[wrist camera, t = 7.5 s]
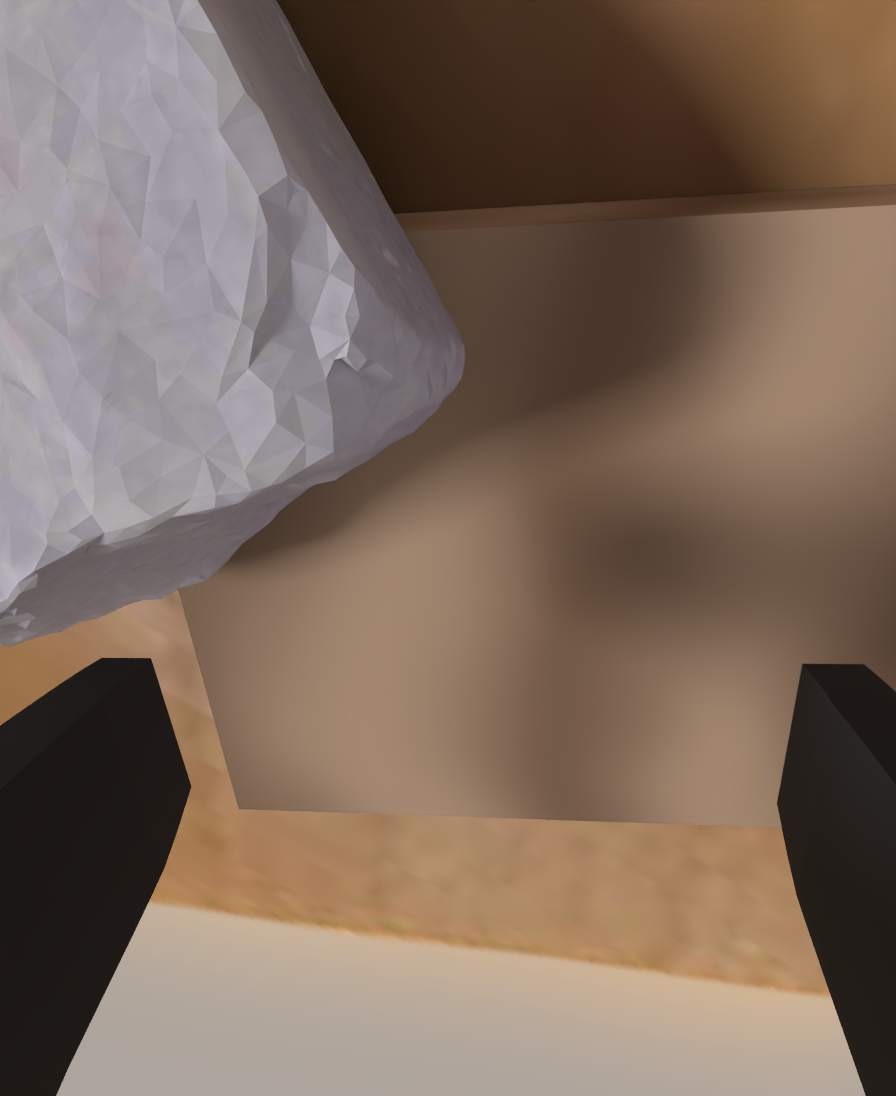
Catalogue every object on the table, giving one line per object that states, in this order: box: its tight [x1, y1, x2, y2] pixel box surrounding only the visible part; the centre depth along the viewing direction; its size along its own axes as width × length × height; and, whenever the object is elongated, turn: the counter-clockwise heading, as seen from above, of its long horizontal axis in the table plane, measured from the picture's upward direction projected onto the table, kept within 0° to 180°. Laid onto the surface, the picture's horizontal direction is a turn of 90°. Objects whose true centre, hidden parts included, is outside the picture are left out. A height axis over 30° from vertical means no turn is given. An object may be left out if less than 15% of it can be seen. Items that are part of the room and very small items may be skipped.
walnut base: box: [178, 184, 896, 828], centre depth 15 cm, size 16×12×2 cm
